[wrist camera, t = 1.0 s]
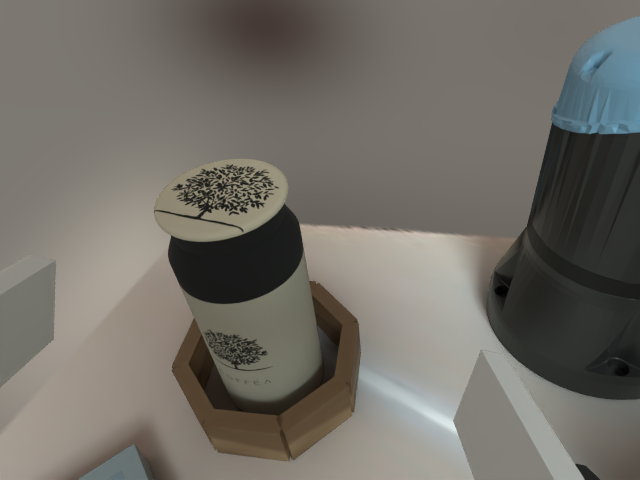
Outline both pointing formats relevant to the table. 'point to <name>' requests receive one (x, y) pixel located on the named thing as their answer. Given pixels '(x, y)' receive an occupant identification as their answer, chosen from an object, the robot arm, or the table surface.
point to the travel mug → (245, 280)
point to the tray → (122, 467)
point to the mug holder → (298, 421)
